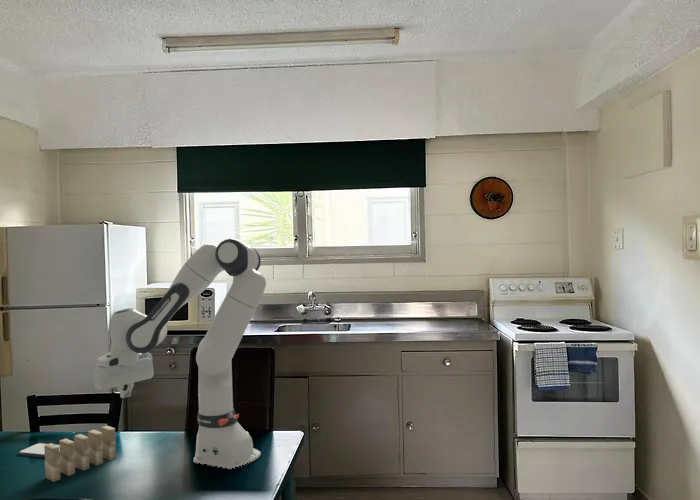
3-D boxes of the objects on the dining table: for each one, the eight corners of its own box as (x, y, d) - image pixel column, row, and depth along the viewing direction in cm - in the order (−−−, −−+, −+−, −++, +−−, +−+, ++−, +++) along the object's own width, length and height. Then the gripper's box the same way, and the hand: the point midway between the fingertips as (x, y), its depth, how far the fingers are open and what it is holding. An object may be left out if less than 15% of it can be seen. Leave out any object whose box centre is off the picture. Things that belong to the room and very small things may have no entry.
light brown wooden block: (94, 459, 176) (93, 429, 176) (103, 463, 173) (101, 432, 173) (88, 461, 175) (87, 431, 174) (97, 465, 172) (95, 434, 171)
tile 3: (81, 464, 173) (79, 433, 172) (89, 468, 170) (88, 436, 169) (75, 466, 171) (73, 435, 171) (83, 470, 168) (81, 439, 168)
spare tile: (52, 475, 165) (51, 443, 165) (60, 479, 162) (59, 446, 162) (45, 477, 164) (44, 445, 163) (53, 481, 161) (52, 448, 160)
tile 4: (67, 469, 169) (65, 438, 169) (75, 473, 166) (73, 441, 166) (60, 472, 167) (59, 440, 167) (68, 476, 164) (67, 443, 164)
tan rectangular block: (107, 455, 180) (106, 425, 180) (116, 458, 177) (114, 428, 177) (102, 457, 178) (100, 427, 178) (110, 460, 175) (109, 430, 175)
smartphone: (16, 457, 182) (53, 460, 177) (16, 452, 182) (53, 455, 177) (38, 447, 190) (74, 450, 186) (38, 442, 190) (74, 445, 186)
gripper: (146, 350, 193) (147, 388, 193) (91, 360, 176) (91, 402, 176) (157, 352, 189) (157, 391, 189) (101, 363, 172) (102, 406, 173)
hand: (125, 396), depth 183 cm, fingers closed
